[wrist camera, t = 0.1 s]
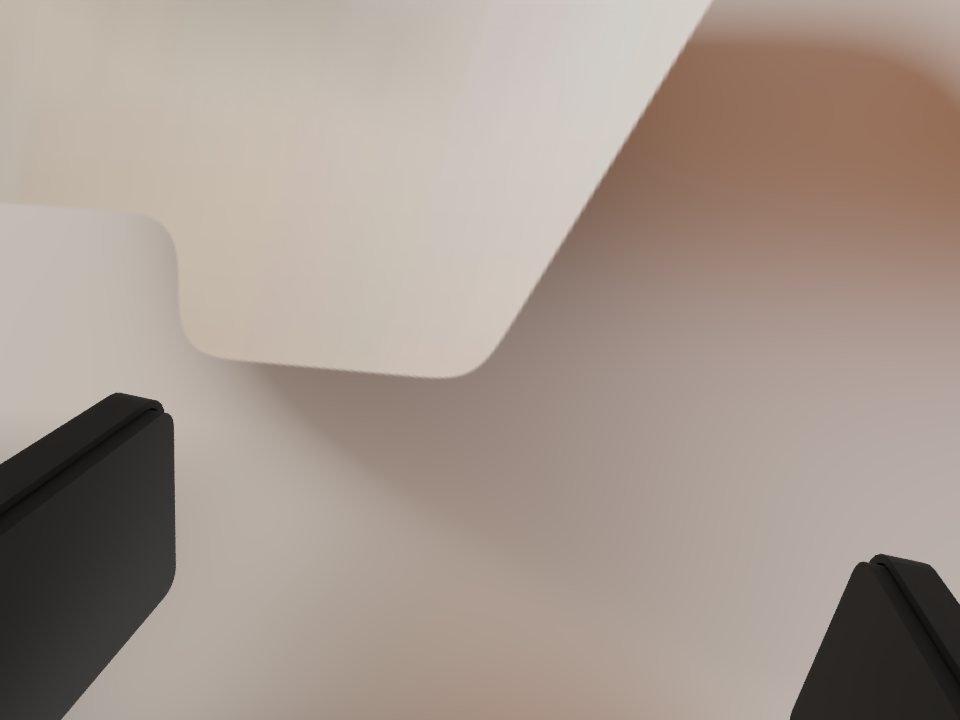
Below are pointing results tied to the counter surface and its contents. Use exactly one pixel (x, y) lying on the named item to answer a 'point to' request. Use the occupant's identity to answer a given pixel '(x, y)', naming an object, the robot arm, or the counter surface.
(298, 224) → the counter surface
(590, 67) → the counter surface
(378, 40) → the counter surface
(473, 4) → the counter surface
